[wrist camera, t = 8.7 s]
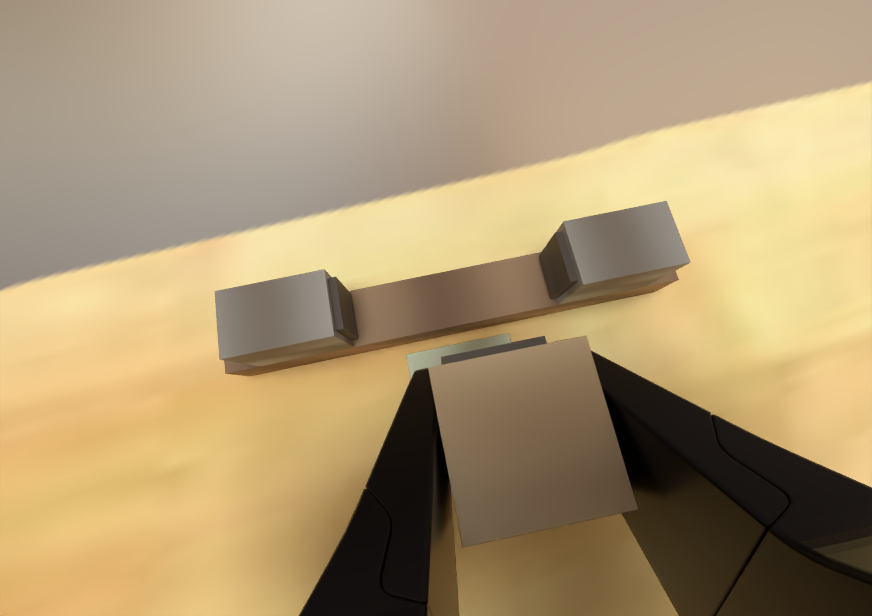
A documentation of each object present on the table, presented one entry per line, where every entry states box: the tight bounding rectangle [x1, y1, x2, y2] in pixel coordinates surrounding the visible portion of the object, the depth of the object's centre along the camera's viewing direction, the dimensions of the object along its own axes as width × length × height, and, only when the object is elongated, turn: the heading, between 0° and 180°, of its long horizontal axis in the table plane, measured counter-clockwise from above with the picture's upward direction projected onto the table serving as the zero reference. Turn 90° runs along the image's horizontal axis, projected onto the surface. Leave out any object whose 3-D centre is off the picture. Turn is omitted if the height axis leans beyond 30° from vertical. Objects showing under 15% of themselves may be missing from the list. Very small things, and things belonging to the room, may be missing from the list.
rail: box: [215, 201, 690, 378], centre depth 15 cm, size 20×8×5 cm, turn 102°
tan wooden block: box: [428, 336, 638, 547], centre depth 11 cm, size 3×3×9 cm
